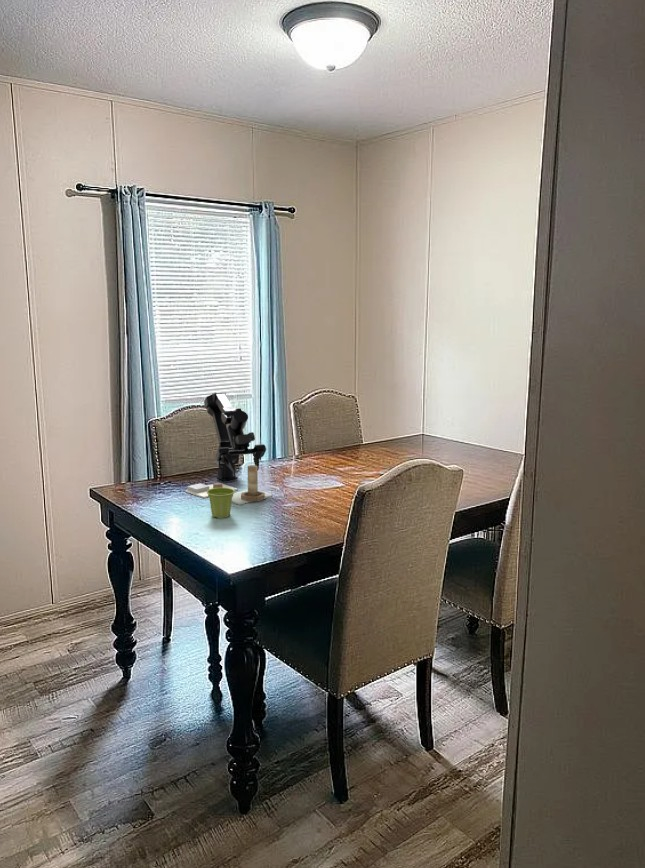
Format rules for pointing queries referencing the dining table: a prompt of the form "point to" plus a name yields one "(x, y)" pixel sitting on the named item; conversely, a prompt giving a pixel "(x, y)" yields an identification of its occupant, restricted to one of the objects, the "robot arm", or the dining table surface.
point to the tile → (204, 494)
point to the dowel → (252, 481)
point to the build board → (238, 497)
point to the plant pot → (220, 501)
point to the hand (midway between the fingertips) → (246, 471)
